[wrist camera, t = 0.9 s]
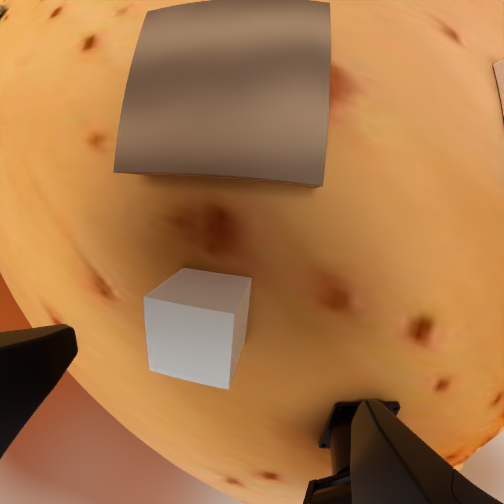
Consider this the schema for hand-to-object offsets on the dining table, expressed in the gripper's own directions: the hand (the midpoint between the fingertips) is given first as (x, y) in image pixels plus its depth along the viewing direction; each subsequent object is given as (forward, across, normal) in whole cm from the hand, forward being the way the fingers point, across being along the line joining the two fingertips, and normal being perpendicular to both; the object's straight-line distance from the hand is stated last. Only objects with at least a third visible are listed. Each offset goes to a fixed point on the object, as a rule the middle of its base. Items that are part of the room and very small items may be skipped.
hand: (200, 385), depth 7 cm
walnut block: (+12, +3, -12) cm, 17 cm away
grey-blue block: (+12, +3, +3) cm, 13 cm away
